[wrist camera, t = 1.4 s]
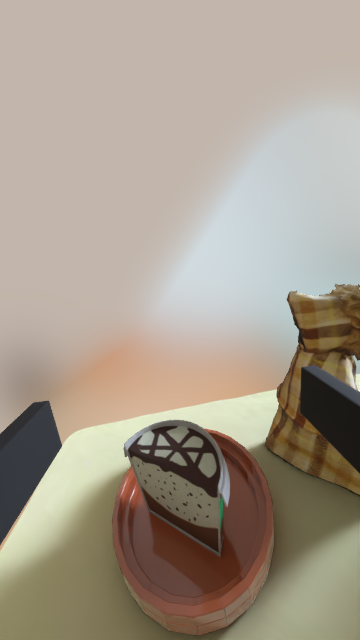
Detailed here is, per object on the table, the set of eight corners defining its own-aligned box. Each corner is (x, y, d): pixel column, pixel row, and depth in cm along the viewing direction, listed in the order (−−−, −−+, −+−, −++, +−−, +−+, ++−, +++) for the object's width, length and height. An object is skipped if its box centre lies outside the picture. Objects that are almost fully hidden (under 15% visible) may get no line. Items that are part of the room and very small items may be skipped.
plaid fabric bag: (286, 393, 39) (277, 272, 29) (384, 421, 30) (423, 262, 20) (262, 460, 31) (237, 321, 20) (391, 527, 22) (467, 340, 11)
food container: (249, 500, 24) (242, 432, 21) (235, 567, 19) (224, 489, 16) (165, 462, 30) (153, 407, 28) (139, 505, 25) (120, 442, 23)
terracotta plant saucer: (234, 431, 34) (233, 417, 33) (319, 600, 16) (319, 579, 16) (129, 456, 33) (125, 442, 32) (99, 670, 15) (89, 650, 14)
